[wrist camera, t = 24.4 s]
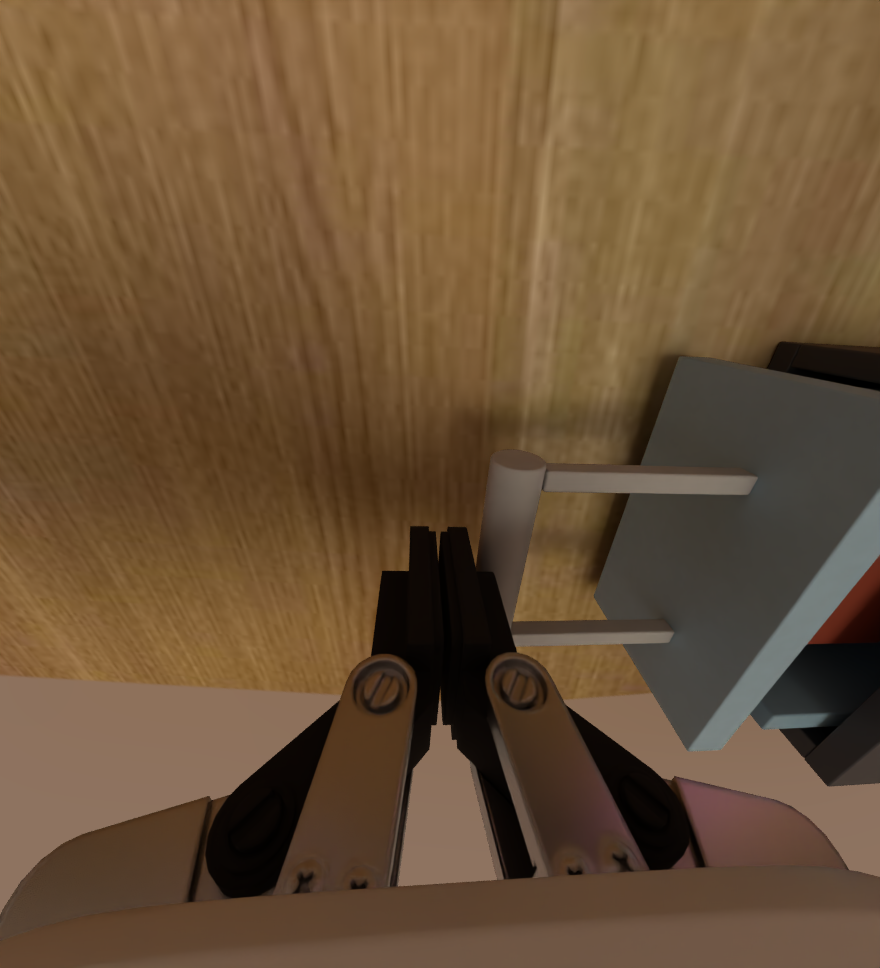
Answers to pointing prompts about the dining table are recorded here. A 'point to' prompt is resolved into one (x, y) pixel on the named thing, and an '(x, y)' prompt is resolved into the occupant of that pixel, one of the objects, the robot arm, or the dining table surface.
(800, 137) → the dining table surface
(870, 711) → the drawer cabinet
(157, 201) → the dining table surface
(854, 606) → the block
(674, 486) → the grey drawer
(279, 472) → the dining table surface
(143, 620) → the dining table surface
